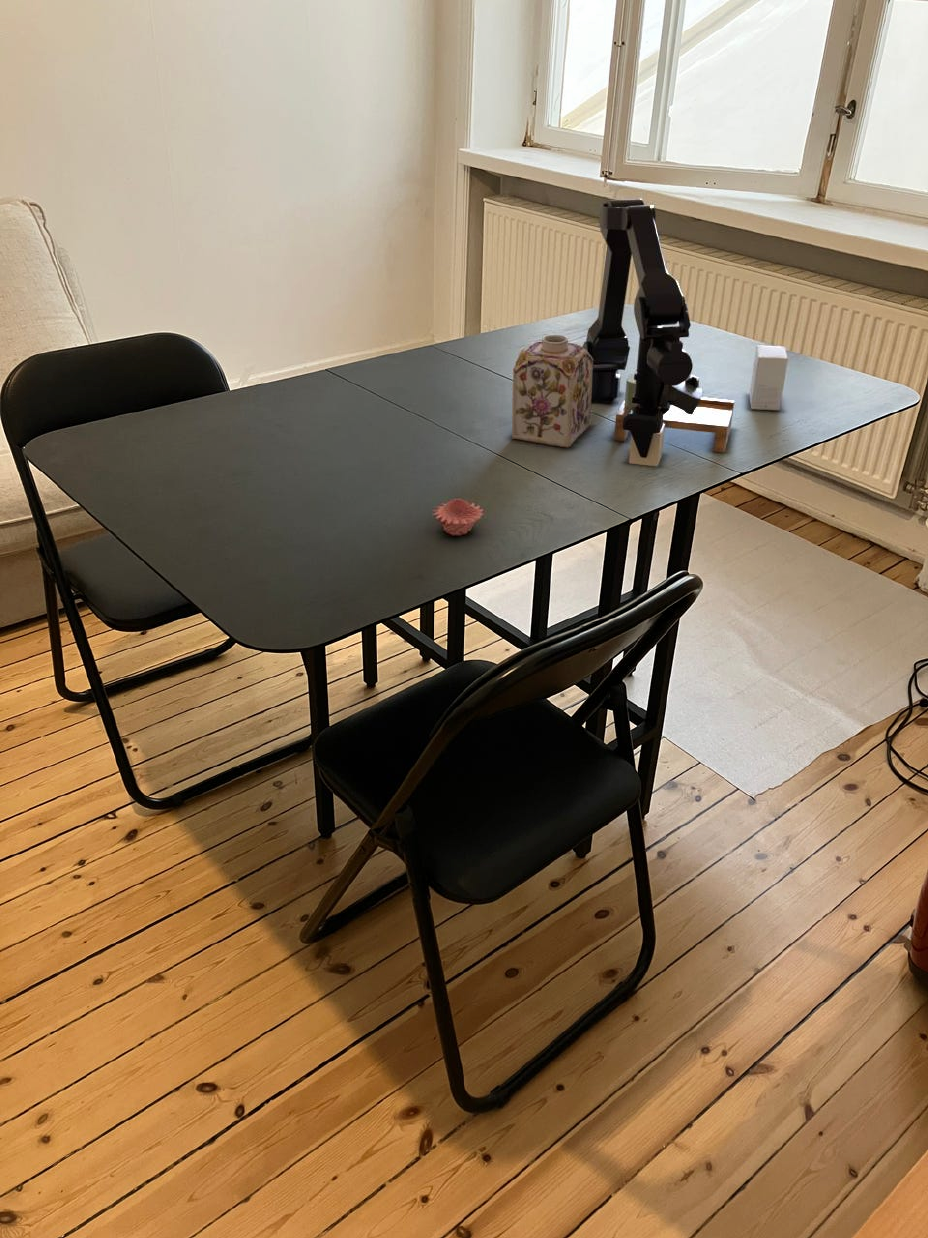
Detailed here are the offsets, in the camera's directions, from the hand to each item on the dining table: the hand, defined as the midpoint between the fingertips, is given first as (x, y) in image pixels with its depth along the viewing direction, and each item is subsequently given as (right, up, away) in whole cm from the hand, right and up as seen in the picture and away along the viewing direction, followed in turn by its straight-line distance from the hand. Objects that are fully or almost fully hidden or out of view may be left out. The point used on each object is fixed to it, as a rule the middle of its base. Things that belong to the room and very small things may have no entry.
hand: (646, 451), depth 177 cm
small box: (+28, +13, +23) cm, 38 cm away
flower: (-33, -16, -22) cm, 43 cm away
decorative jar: (-16, +5, +12) cm, 20 cm away
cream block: (0, -1, +1) cm, 2 cm away
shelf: (+7, +5, +10) cm, 13 cm away
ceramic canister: (0, +10, +9) cm, 13 cm away
